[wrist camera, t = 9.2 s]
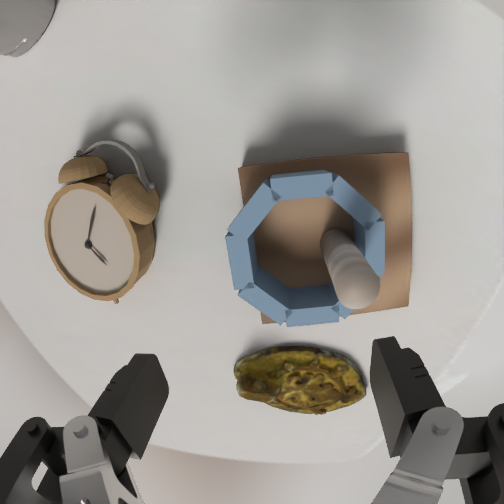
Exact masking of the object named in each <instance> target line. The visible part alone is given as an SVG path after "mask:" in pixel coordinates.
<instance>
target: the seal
mask: <svg viewBox="0 0 504 504" xmlns="http://www.w3.org/2000/svg"><path fill="white" fill-rule="evenodd" d="M234 376H235V378H236V379H237V380H238V381H237V391H238V394H239V396H241V397H243V398H245V399H247V400H254V401H260V402H265V403H266V404H268V405H270V406H272V407H276V408H279V409H282V410H286V411H289V412H298V413H304V414H313V413H314V414H316V415H317V414H325V413H326V412H329V411H333V410H336V409H339V408H343V407H346V406H350V405H352V404H354V403H356V402H358V401H359V400H361V399H362V398H364V397H365V395H366V389H365V385H364V382H363V379H362V375H361V373H360V371H359V370H358V368H357V367H356V366H355V365H354V364H353V363H352V362H351V361H350V360H349V359H347V358H346V357H344V356H342V355H339V354H336V353H333V352H330V351H327V350H324V349H319V348H313V347H297V346H289V347H274V348H270V349H266V350H262V351H259V352H257V353H254V354H251V355H249V356H247V357H245V358H244V359H242V360H240V361H239V362H237V363H236V365H235V367H234Z"/></svg>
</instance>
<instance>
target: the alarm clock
mask: <svg viewBox="0 0 504 504" xmlns="http://www.w3.org/2000/svg"><path fill="white" fill-rule="evenodd" d="M102 144H110V145H114V146H117V147H119V148H120V149H122V150H123V151H124V152H125V153H127V154H128V155H129V156H130V158H131V159H132V161H133V163H134V165H135V167H136V170H137V174H138V175H136V174H124V175H121V176H120V177H118V178H117V179H113V178H114V176H113V175H111V174H109V173H107V172H108V169H107V166H106V164H105V162H104V161H103V160H102V159H101V158H99V157H96V156H91V155H85V154H88V153H90V152H92V151H93V150H95V149H96V148H97V147H99V146H100V145H102ZM83 155H85V156H83ZM74 157H76V158H74V159H72V160H70V161H68V162H67V163H65V164H64V165H63V167H62V168H61V170H60V172H59V178H58V179H59V183H67V182H72V181H76V180H81V181H79V182H76V183H73V184H68V185H66V186H65V187H64V188H62V189H61V190H59V191H58V192H56V194H55V195H54V197H53V198H52V200H51V202H50V203H49V205H48V208H47V212H46V216H45V239H46V243H47V247H48V251H49V254H50V256H51V258H52V260H53V262H54V264H55V266H56V268H57V270H58V271H59V273H60V274H61V275H62V276H63V278H64V279H65V280H66V281H67V283H68V284H70V285H71V286H72V287H73V288H75V289H76V290H77V291H78V292H80V293H81V294H83V295H86V296H88V297H90V298H92V299H95V300H104V301H110V300H113V301H114V302H115V304H117V303H119V301H118V298H121V297H122V296H123V295H124V294H126V293H127V292H128V291H129V290H130V289H131V288H132V287H133V286H134V284H135V283H136V282H137V281H138V280H139V279H140V278H141V277H142V276H143V275H144V274H145V273H146V272H147V270H148V268H149V266H150V264H151V262H152V260H153V254H154V247H155V239H154V232H153V226H152V221H153V220H154V218H155V217H156V215H157V214H158V211H159V205H160V202H159V197H158V194H157V192H156V190H155V188H154V187H155V184H154V183H150V182H149V181H148V179H147V177H146V174H145V170H144V166H143V163H142V161H141V158H140V157H139V155H138V154H137V152H136V151H135V150H134V149H133V148H131V147H130V146H129V145H127V144H126V143H124V142H121V141H117V140H104V141H99V142H96V143H94V144H93V145H91V146H90V147H89V148H88V149H87V150H85V151H84V152H82V151H81V150H79V151H77V153H76V156H74ZM104 173H107V174H106V177H105V176H97V175H100V174H104ZM93 176H97V177H93ZM89 177H90V178H89ZM85 178H86V179H85Z"/></svg>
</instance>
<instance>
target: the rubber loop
mask: <svg viewBox="0 0 504 504" xmlns="http://www.w3.org/2000/svg"><path fill="white" fill-rule="evenodd" d="M323 196H329V197H330V198H332V199H333V200H334V201H335V202H336V203H337V204H339V205H340V206H341V207H342V208H343V209H344V210H346V211H347V212H348V213H349V214H350V215H351V216H352V217H353V226H354V243H355V245H356V246H357V247H358V249H359V250H360V252H361V253H362V254H363V256H364V257H365V259H366V260H367V261H368V263H369V264H370V266H371V267H372V269H373V270H374V272H375V273H376V274H377V276H378V278H379V276H382V275H384V271H385V221H384V220H383V219H381V218H380V216H381V215H382V214H381V213H380V212H379V211H378V210H377V209H376V208H374V207H373V206H372V205H371V204H370V203H369V202H368V201H367V200H366V199H365V198H364V197H363V196H362V195H360V194H359V193H358V192H357V191H356V190H355V189H354V188H353V187H352V186H350V185H349V184H348V183H347V182H346V181H345V180H344V179H342V178H341V177H340V176H339V175H337V174H334V173H332V172H328V171H326V170H315V171H304V172H294V173H285V174H275V175H272V176H271V178H270V180H268V179H267V178H266V179H265V180H264V182H263V183H262V184H261V185H260V187H259V188H258V189H257V191H256V192H255V193H254V194H253V196H252V197H251V198H250V200H249V201H248V202H247V203H246V205H245V206H244V207H243V209H242V210H241V211H240V212H239V214H238V215H237V216H236V218H235V219H234V220H233V222H232V223H231V225H230V226H229V228H228V229H227V230H228V231H229V232H228V233H227V235H226V236H225V238H226V244H227V250H228V256H229V262H230V268H231V273H232V279H233V285H234V290H238V289H240V290H239V293H238V296H240V297H241V298H242V299H244V300H245V301H247V302H248V303H249V304H251V305H252V306H254V307H255V308H257V309H258V310H259V311H261V312H262V313H264V314H265V315H266V316H268V317H269V318H271V319H272V320H274V321H275V322H277V323H278V324H279V325H281V324H282V323H283V322H284V321H285V320H286V325H287V327H291V326H303V325H313V324H323V323H333V322H339V315H340V316H341V317H343V318H344V319H345V318H346V317H347V316H348V315H349V314H350V313H351V312H352V311H353V310H354V309H350V308H347V307H345V306H344V305H342V304H341V302H340V301H339V299H338V297H337V294H336V291H335V288H334V285H333V282H332V281H331V282H330V283H329V284H327V285H317V286H307V287H297V288H288V287H287V286H286V285H284V284H283V283H282V282H280V281H279V280H278V279H276V278H275V277H274V276H272V275H271V274H270V273H268V272H267V271H266V270H264V269H263V268H262V267H260V266H259V265H258V260H257V253H256V246H255V238H254V230H255V229H256V228H257V226H258V225H259V224H260V223H261V222H262V220H263V219H264V218H265V217H266V215H267V214H268V213H269V212H270V210H271V209H272V208H273V207H274V205H275V204H276V203H277V202H278V201H282V200H292V199H302V198H312V197H323ZM379 280H380V283H381V282H382V281H381V279H380V278H379Z"/></svg>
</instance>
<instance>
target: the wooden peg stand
mask: <svg viewBox="0 0 504 504" xmlns="http://www.w3.org/2000/svg"><path fill="white" fill-rule="evenodd" d="M315 170H326V171H328V172H332V173H334V174H337V175H339V176H340V177H341V178H342V179H344V180H345V181H346V182H347V183H348V184H349V185H350V186H352V187H353V188H354V189H355V190H356V191H357V192H358V193H359V194H360V195H362V196H363V197H364V198H365V199H366V200H367V201H368V202H369V203H370V204H371V205H372V206H373V207H374V208H376V209H377V210H378V211H379V212H380V213H381V214H382V215H381V216H380V218H381V219H383V220H384V221H385V271H384V275H382V276H379V278H380V279H381V281H382V282H381V283H380V280H379V278H378V276H377V274H376V273H375V272H374V270H373V269H372V267H371V266H370V264H369V263H368V261H367V260H366V259H365V257H364V256H363V254H362V253H361V252H360V250H359V249H358V247H357V246H356V245H355V243H354V226H353V217H352V216H351V215H350V214H349V213H348V212H347V211H346V210H344V209H343V208H342V207H341V206H340V205H339V204H337V203H336V202H335V201H334V200H333V199H332V198H330V197H329V196H323V197H312V198H302V199H292V200H282V201H278V202H277V203H276V204H275V205H274V207H273V208H272V209H271V210H270V212H269V213H268V214H267V215H266V217H265V218H264V219H263V220H262V222H261V223H260V224H259V225H258V226H257V228H256V229H255V230H254V238H255V246H256V253H257V260H258V265H259V266H260V267H262V268H263V269H264V270H266V271H267V272H268V273H270V274H271V275H272V276H274V277H275V278H276V279H278V280H279V281H280V282H282V283H283V284H284V285H286V286H287V287H288V288H297V287H307V286H317V285H327V284H329V283H330V282H331V281H332V282H333V285H334V288H335V291H336V294H337V297H338V299H339V301H340V302H341V304H342V305H344V306H345V307H347V308H350V309H354V310H353V311H352V312H351V313H350V314H349V315H353V314H361V313H368V312H375V311H381V310H388V309H394V308H400V307H406V306H408V304H409V292H410V278H411V258H412V200H411V180H410V166H409V155H408V153H405V152H392V153H371V154H355V155H341V156H329V157H318V158H308V159H299V160H290V161H282V162H274V163H266V164H259V165H252V166H245V167H240V168H238V172H239V179H240V185H241V191H242V198H243V204H244V206H245V205H246V203H247V202H248V201H249V200H250V198H251V197H252V196H253V194H254V193H255V192H256V191H257V189H258V188H259V187H260V185H261V184H262V183H263V182H264V180H265V179H266V178H267V179H268V180H270V178H271V176H272V175H275V174H285V173H294V172H304V171H315ZM339 316H340V315H339ZM261 318H262V324H269V323H277V322H275V321H274V320H272V319H271V318H269V317H268V316H266V315H265V314H264V313H262V312H261ZM284 322H286V320H285V321H284Z"/></svg>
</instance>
